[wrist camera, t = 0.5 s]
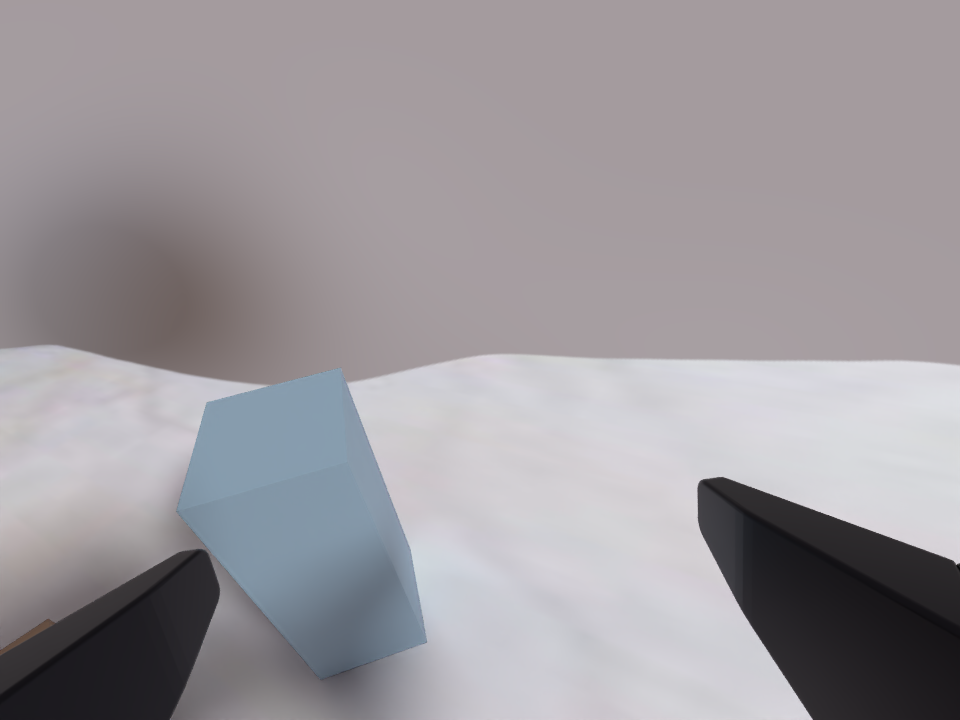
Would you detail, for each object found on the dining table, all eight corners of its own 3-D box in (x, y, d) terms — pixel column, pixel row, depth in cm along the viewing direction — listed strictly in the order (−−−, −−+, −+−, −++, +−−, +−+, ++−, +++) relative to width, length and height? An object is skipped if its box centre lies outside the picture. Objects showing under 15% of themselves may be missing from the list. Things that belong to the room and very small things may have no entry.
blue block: (427, 642, 23) (347, 461, 15) (320, 679, 22) (176, 511, 14) (410, 549, 26) (340, 367, 18) (319, 578, 26) (206, 402, 18)
